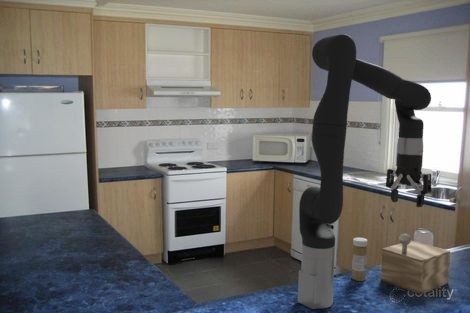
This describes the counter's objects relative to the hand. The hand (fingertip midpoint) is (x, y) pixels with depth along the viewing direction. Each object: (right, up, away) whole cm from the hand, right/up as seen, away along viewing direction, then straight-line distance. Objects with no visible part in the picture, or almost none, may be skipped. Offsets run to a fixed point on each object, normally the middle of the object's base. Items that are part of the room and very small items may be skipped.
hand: (406, 204), depth 146 cm
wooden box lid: (+5, -16, +6) cm, 17 cm away
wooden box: (+5, -26, +7) cm, 27 cm away
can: (+15, -24, +25) cm, 38 cm away
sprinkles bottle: (-13, -26, +9) cm, 30 cm away
